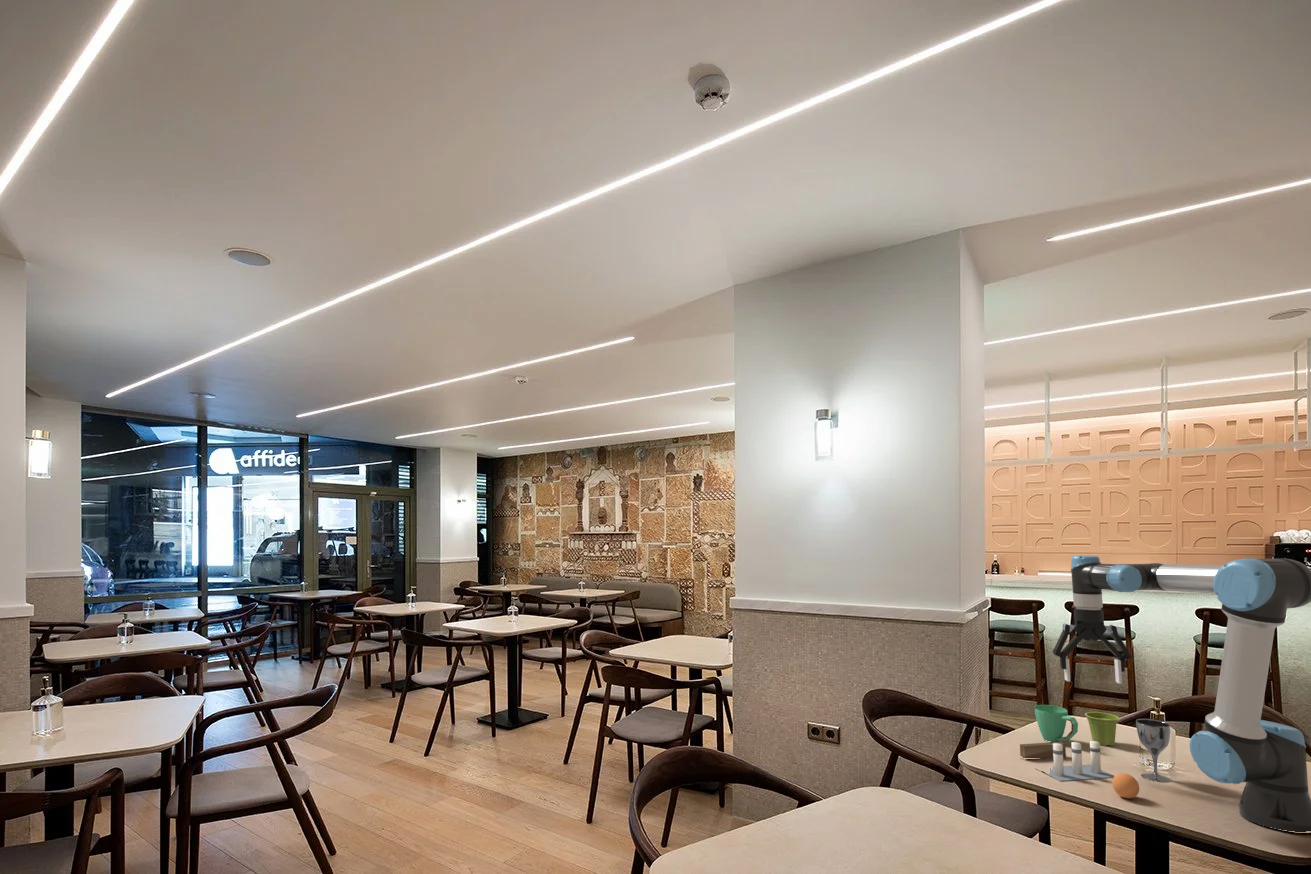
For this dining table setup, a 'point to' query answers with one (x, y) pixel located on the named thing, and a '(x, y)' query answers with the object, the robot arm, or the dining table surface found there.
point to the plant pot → (1102, 727)
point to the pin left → (1058, 759)
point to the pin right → (1095, 757)
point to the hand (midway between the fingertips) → (1093, 682)
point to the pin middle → (1077, 758)
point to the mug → (1054, 722)
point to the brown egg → (1125, 785)
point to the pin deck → (1086, 775)
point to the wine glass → (1154, 743)
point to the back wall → (1039, 750)
